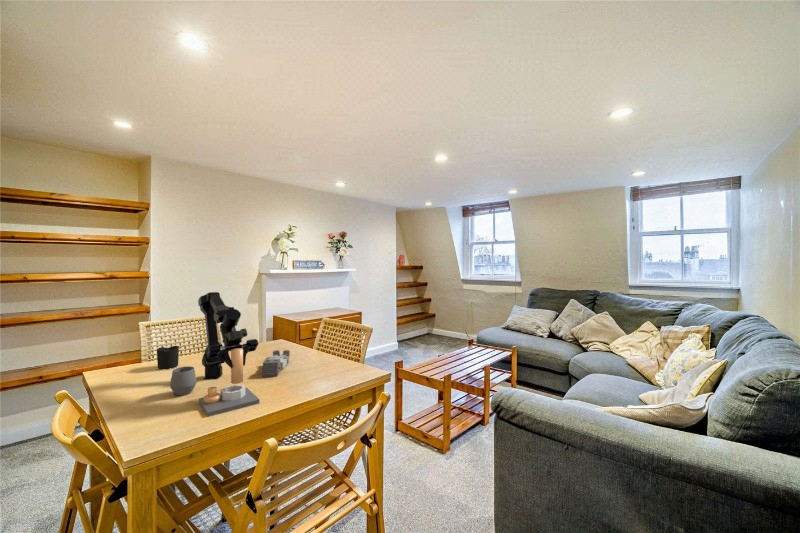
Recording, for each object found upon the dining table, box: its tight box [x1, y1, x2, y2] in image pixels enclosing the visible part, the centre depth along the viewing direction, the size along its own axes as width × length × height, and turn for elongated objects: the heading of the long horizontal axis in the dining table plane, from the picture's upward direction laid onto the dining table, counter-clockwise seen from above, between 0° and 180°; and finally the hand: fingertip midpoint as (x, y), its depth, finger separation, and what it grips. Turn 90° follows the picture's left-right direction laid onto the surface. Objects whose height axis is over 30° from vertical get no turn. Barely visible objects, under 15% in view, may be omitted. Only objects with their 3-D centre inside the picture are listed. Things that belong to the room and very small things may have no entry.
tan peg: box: [230, 348, 244, 385], centre depth 138 cm, size 4×4×13 cm
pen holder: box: [156, 345, 180, 370], centre depth 176 cm, size 9×9×10 cm
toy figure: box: [261, 349, 291, 378], centre depth 179 cm, size 11×7×30 cm
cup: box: [169, 365, 197, 396], centre depth 143 cm, size 10×9×10 cm
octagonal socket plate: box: [198, 384, 260, 417], centre depth 134 cm, size 16×18×6 cm
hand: (238, 366), depth 137 cm, fingers closed on tan peg, 4 cm apart
